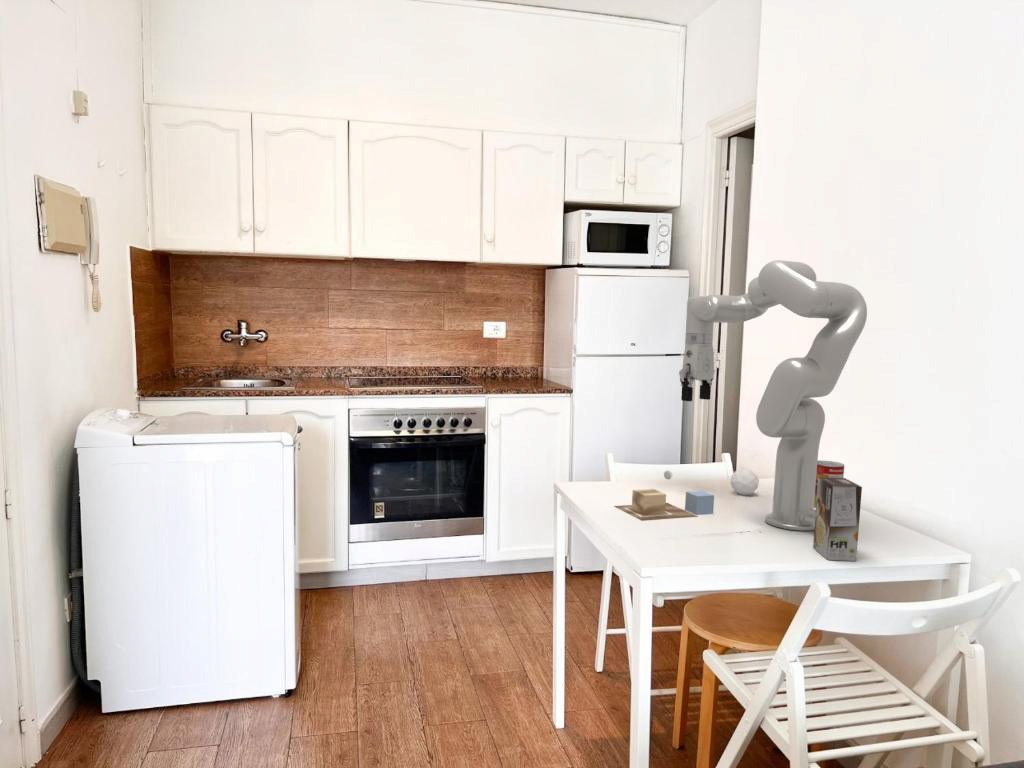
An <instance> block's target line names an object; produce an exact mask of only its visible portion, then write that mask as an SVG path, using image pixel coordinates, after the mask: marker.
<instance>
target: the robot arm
mask: <svg viewBox="0 0 1024 768" xmlns="http://www.w3.org/2000/svg"><path fill="white" fill-rule="evenodd" d="M686 305H687V306H686V319H685V320H686V322H685V339H684V340H685V341H684V343H685V346H684V347H685V348H684V352H683V361H682V368H681V369H680V370H679V371H678V375H679V381H680V386H681V396H680V397H681V401H682V402H692V401H693V393H694V392H693V391H694V387H693V384H694V382H695V380H696V381H700V385H699V399H700V400H706V401H707V400H710V399H711V394H712V393H711V389H712V385H713V380H714V375H715V373H716V372H715V371H716V370H715V356H714V355H715V354H714V347H713V339H714V323H717V324H718V323H719V324H720V323H721V324H722V323H724V324H725V323H726V324H740V323H743V322H747V321H751V320H753V319H757V318H759V317H761V316H763V315H764V314H765V313H766V312H767V311H768V309H769V308H773V307H776V306H778V305H781V306H783V307H784V308H786V309H787V310H789V311H790V312H792V313H794V314H795V315H797V316H799V317H803V318H808V319H827V320H828V321H827V323H826V324H825V326H823V327H822V328H821V329H820V331H818V333H817V334H816V336H815V337H814V339H813V342H812V343H811V346H810V349H809V350H808V352H807V354H805V356H804V357H790V358H787V359H785V360H783V361H781V362H780V363H778V365H777V366H776V367H775V369H774V370H773V372H772V374H771V376H770V378H769V380H768V383H767V386H766V388H765V389H764V392H763V395H762V397H761V399H760V401H759V404H758V406H757V409H756V416H755V417H756V418H755V420H756V422H755V423H756V425H757V427H758V430H759V431H760V432H761V433H762V435H765V436H767V437H768V438H775V439H776V438H779V439H780V441H779V443H778V444H777V445H778V446H777V449H776V457H775V458H776V459H775V470H774V484H773V495H772V496H773V497H772V498H773V499H772V512H771V513H769V514H766V515H765V518H764V519H765V520H764V521H765V522H766V523H767V524H769V525H771V526H773V527H776V528H780V529H783V530H784V529H785V530H790V531H802V532H803V531H805V532H808V531H814V528H815V514H816V509H815V507H814V499H815V486H816V472H817V462H818V459H819V458H818V457H819V449H820V445H821V444H820V443H821V438H822V435H823V431H824V427H825V422H826V414H825V410H824V408H823V407H822V405H821V404H820V403H819V402H818V401H817V400H815V399H813V398H822V397H826V396H829V395H830V394H831V392H832V391H834V388H835V387H836V385H837V384H838V380H839V378H840V377H841V374H842V373H843V370H844V368H845V366H846V364H847V361H848V360H849V357H850V355H851V354H852V350H853V348H854V346H855V345H856V343H857V341H858V340H859V337H860V336H861V334H862V332H863V330H864V328H865V325H866V322H867V317H868V308H867V303H866V301H865V297H864V296H863V295H862V293H861V292H860V291H859V290H858V289H857V288H856V287H854V286H852V285H850V284H846V283H843V282H834V281H821V280H820V281H819V280H817V275H816V272H815V270H814V269H813V267H811V266H810V265H809V264H807V263H804V262H801V261H791V260H782V259H779V260H775V259H774V260H772V261H769V262H768V263H766V264H764V265H763V267H762V268H761V269H760V271H759V272H758V276H756V277H754V278H753V279H751V281H750V282H749V283H748V286H747V293H744V294H742V295H727V294H709V295H708V294H707V295H705V296H704V295H703V296H700V295H696V296H695V295H694V296H690V297H689V298H687V302H686Z"/></svg>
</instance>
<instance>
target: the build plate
mask: <svg viewBox="0 0 1024 768" xmlns="http://www.w3.org/2000/svg"><path fill="white" fill-rule="evenodd" d="M613 507H614V508H616V509H618V510H620V511H622V512H624V513H626V514H628V515H630V516H632V517H634V518H635V519H637V520H639V521H641V522H642V521H643V522H644V521H657V520H659V521H660V520H670V519H671V520H673V519H683V518H684V519H686V518H687V519H688V518H698V517H699V515H695V514H693V513H691V512H688V511H686V510H685V509H682V508H680V507H678V506H675V505H673V504H671V503H670V502H666V506H665V514H658V515H642V514H640V513H638V512H636V511H634V510H632V504H628V505H627V504H626V505H624V504H623V505H613Z"/></svg>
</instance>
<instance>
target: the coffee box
mask: <svg viewBox="0 0 1024 768" xmlns="http://www.w3.org/2000/svg"><path fill="white" fill-rule="evenodd" d="M862 490H863V487H862V486H861V485H859V484H857V483H856V482H853V481H852V480H850V479H847V478H845V477H843V478H832V477H827V478H824V477H818V484H817V498H816V507H815V510H816V514H815V528H814V530H813V531H814V533H813V545H812V548H813V549H814V550H815V551H817V552H818V553H819V554H820V555H821V556H823V557H824V558H825V559H826V560H829V561H846V562H856V561H857V556H858V555H857V554H858V545H859V544H858V543H859V542H858V541H859V530H860V516H861V504H862V492H863V491H862Z"/></svg>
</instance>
